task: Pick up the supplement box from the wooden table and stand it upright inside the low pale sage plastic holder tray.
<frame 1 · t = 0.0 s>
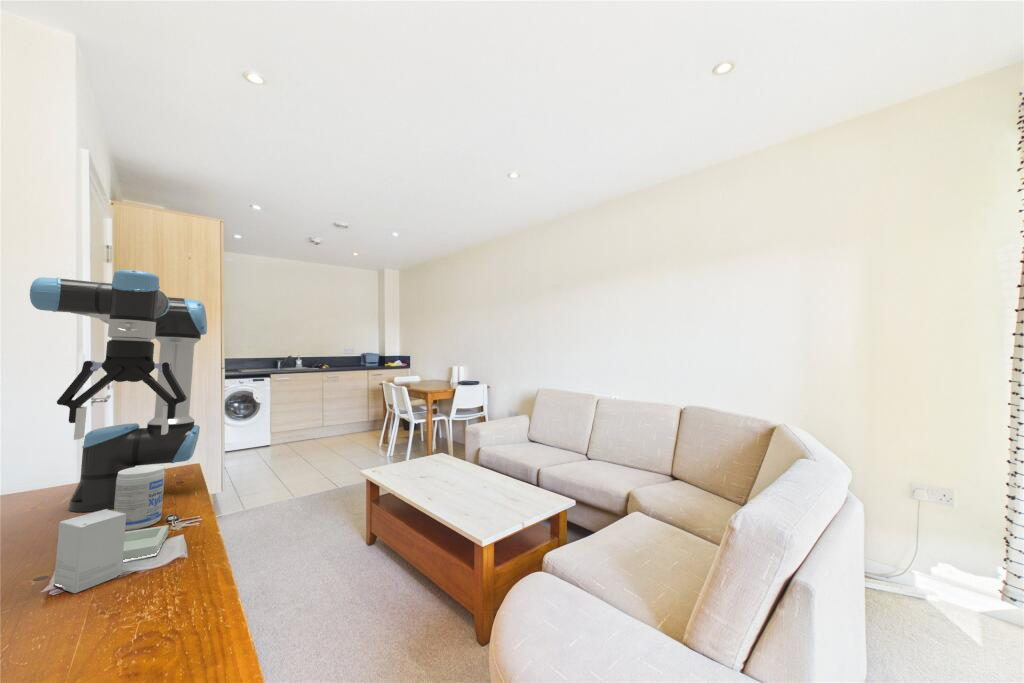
hand: (123, 436, 85), 28 cm above the table, tool pointing down, fingers open, 13 cm apart
supplement box: (88, 581, 78), on the table
supplement tub: (137, 525, 104), on the table
holder tray: (127, 551, 90), on the table
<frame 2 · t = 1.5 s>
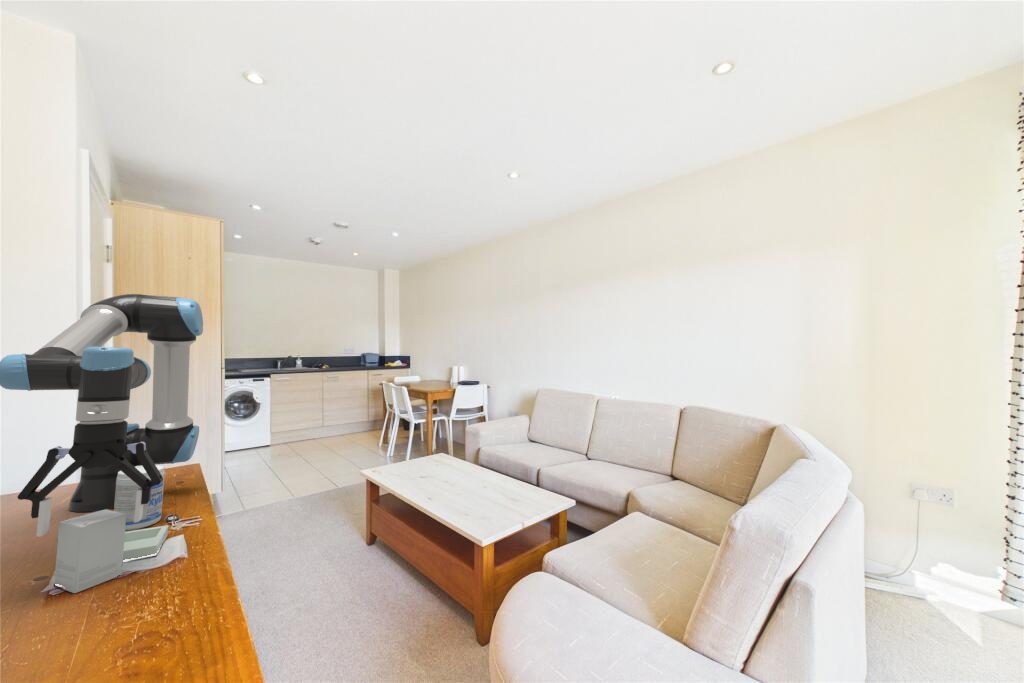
hand: (92, 526, 78), 11 cm above the table, tool pointing down, fingers open, 13 cm apart
nothing on the table moved.
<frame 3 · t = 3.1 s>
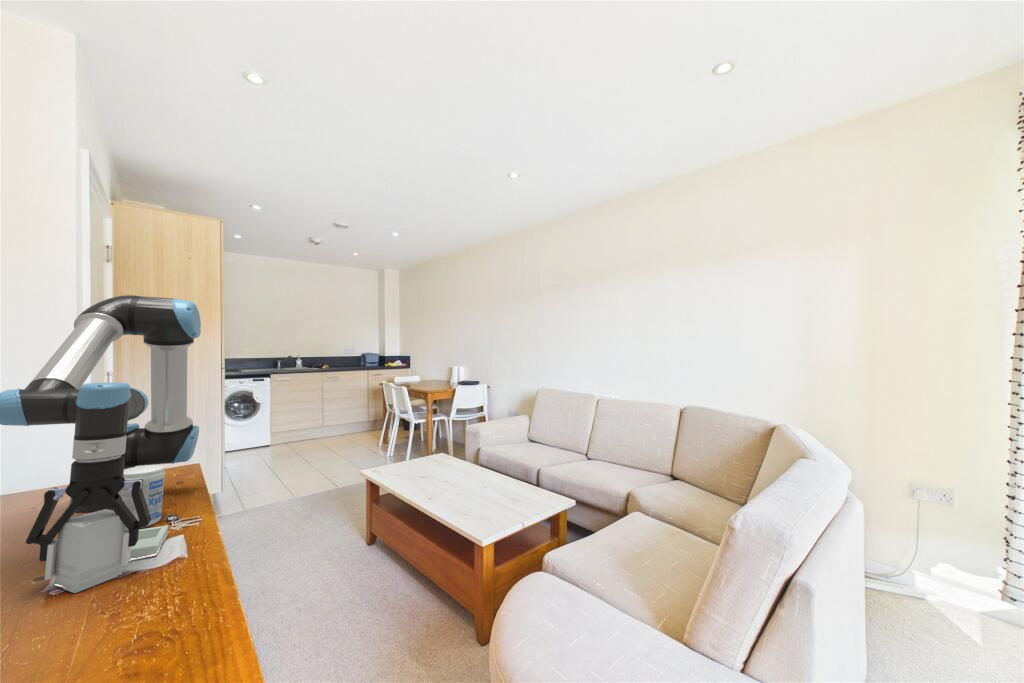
hand: (89, 569, 78), 2 cm above the table, tool pointing down, fingers closed on supplement box, 10 cm apart
supplement box: (88, 581, 78), on the table, touching gripper
everything else where it was.
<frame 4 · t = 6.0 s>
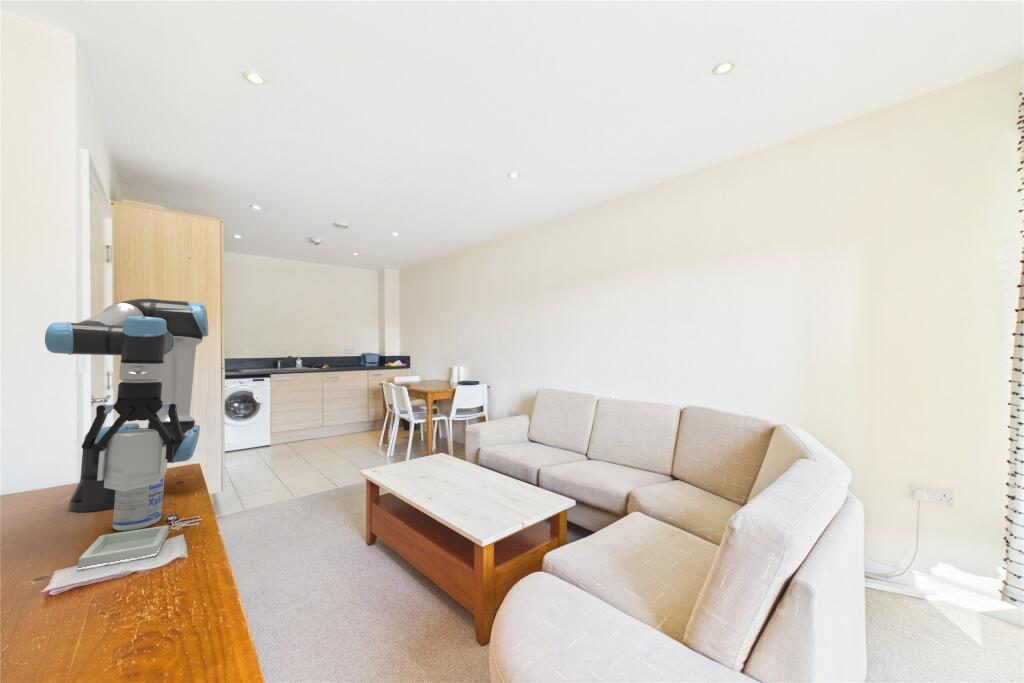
hand: (133, 475, 91), 17 cm above the table, tool pointing down, fingers closed on supplement box, 10 cm apart
supplement box: (132, 486, 90), point 15 cm above the table, touching gripper
everything else where it was.
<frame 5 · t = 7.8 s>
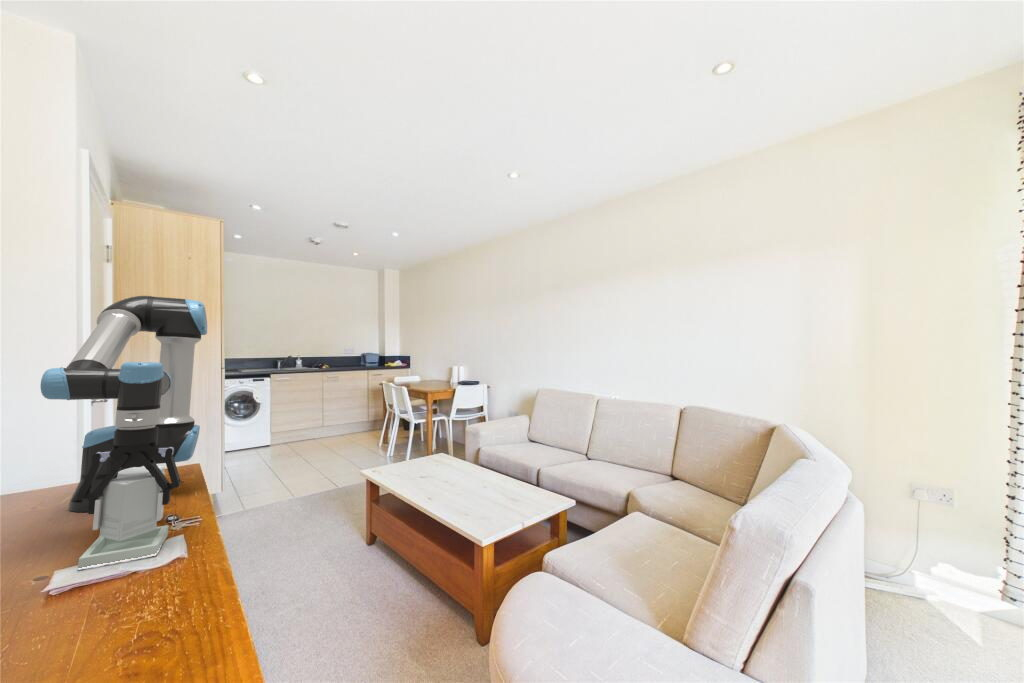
hand: (129, 523, 90), 6 cm above the table, tool pointing down, fingers closed on supplement box, 10 cm apart
supplement box: (128, 533, 90), point 4 cm above the table, touching gripper
everything else where it was.
when the fingers open (5 cm above the table, at t = 9.2 s): supplement box drops 2 cm, resting on holder tray.
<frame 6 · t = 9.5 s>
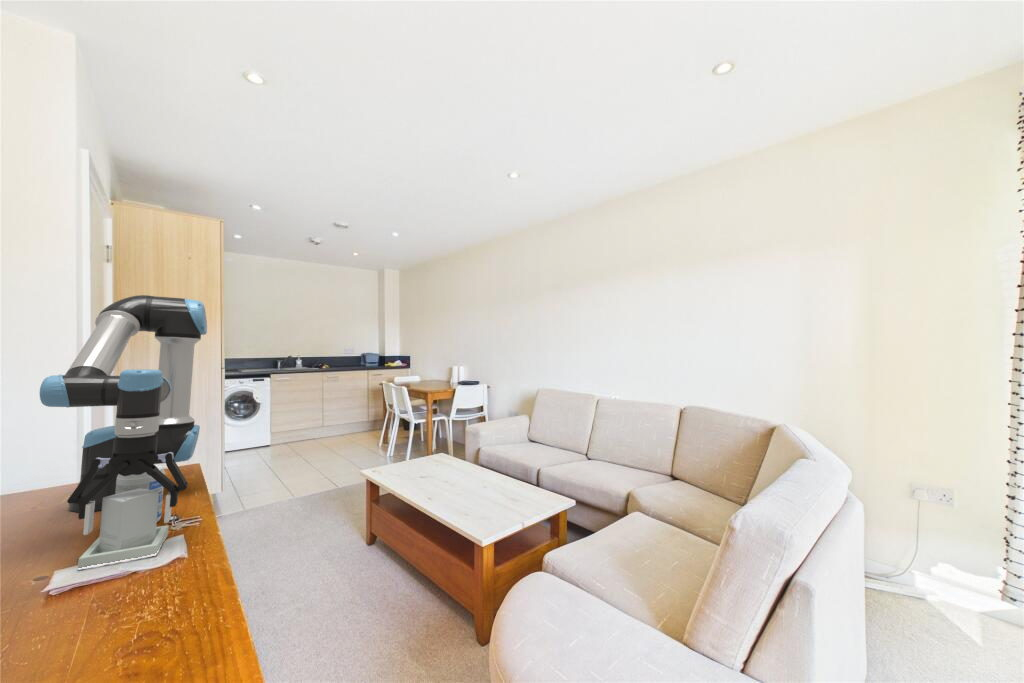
hand: (129, 526, 90), 6 cm above the table, tool pointing down, fingers open, 13 cm apart
supplement box: (127, 550, 90), resting on holder tray
everything else where it was.
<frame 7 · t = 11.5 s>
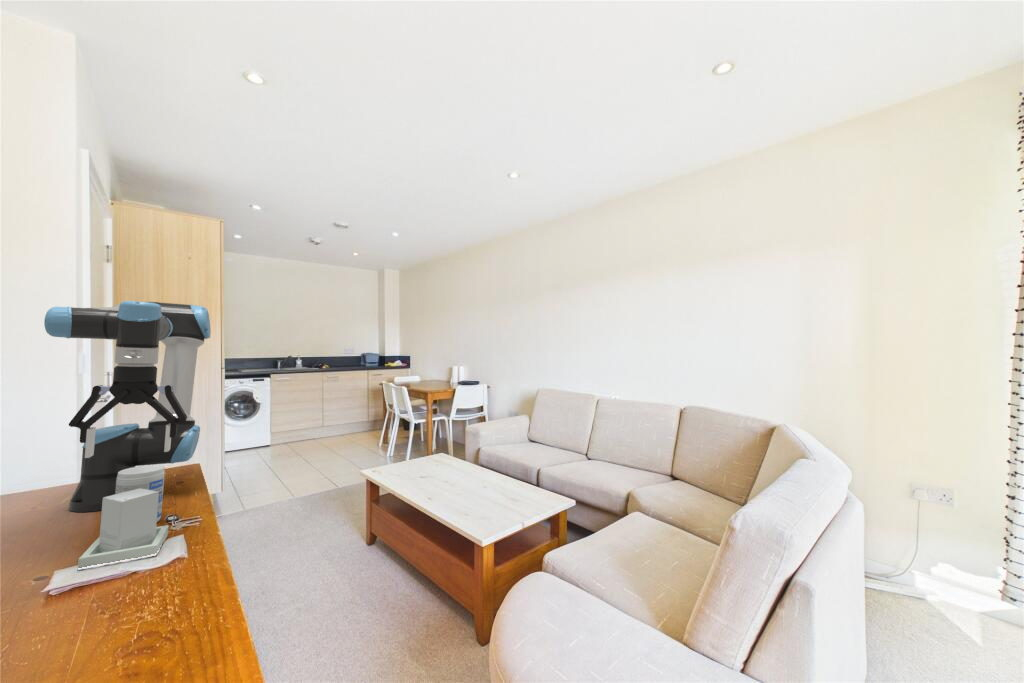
hand: (129, 453, 92), 22 cm above the table, tool pointing down, fingers open, 13 cm apart
nothing on the table moved.
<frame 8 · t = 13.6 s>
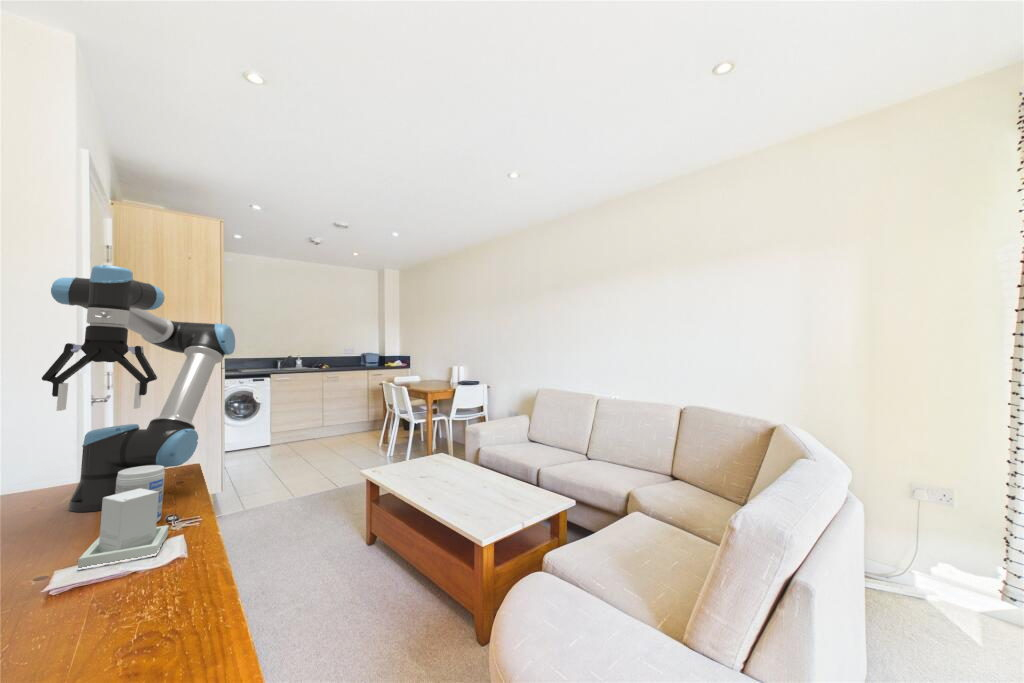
hand: (100, 409, 98), 32 cm above the table, tool pointing down, fingers open, 13 cm apart
nothing on the table moved.
at the end: supplement box 0.0 cm off-centre on the holder tray, point 0.3 cm above the holder tray's base; supplement box tilted 0°; the gripper is holding nothing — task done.
